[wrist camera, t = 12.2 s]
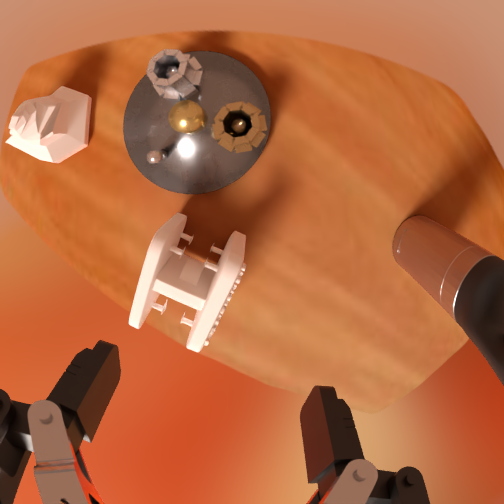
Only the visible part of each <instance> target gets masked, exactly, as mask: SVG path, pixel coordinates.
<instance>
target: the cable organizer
mask: <svg viewBox="0 0 504 504" xmlns="http://www.w3.org/2000/svg"><path fill="white" fill-rule="evenodd" d="M186 221H187V216H186V215H183V214H181V213H179V212H177V213H176V214H175V215H174V216H173V217H171V218H170V219H169V220H168V221H167V222H166V223H165V224H164V225H162V226H161V227H160V228H159V229H158V230H157V232H156V233H155V235H154V237H153V239H152V241H151V243H150V246H149V249H148V252H147V255H146V258H145V261H144V265H143V268H142V272H141V275H140V278H139V282H138V286H137V289H136V293H135V297H134V301H133V304H132V308H131V312H130V317H129V325H131V326H133V327H135V328H137V329H139V328H140V327H141V326H142V324H143V322H144V321H145V319H146V317H147V315H148V314H149V312H150V310H151V308H155V309H157V310H159V311H162V312H161V315H162V313H163V312H164V311H165V309H166V306H167V301H166V303H165V304H164V306H162V305H159V304H157V303H155V302H156V300H157V298H158V296H159V294H163V295H165V296H167V297H169V298H172V299H174V300H176V301H178V302H181V303H183V304H185V305H188V306H190V307H192V308H195V309H197V312H196V315H195V319H194V321H191V320H189V319H187V318H184V315H183V317H182V319H181V322H182V323H185V324H187V325H189V326H192V328H191V331H190V334H189V337H188V341H187V348H188V349H190V350H193V351H196V352H200V350H201V349H202V348H203V346H204V345H206V346H207V345H208V343H209V338H211V336H212V334H213V332H214V331H215V330H216V326H217V325H218V324H219V321H220V318H221V317H222V315H221V314H223V312H224V311H225V309H226V306H227V305H228V301H230V298H231V297H232V293H234V290H235V289H236V287H237V285H236V283H238V284H239V282H240V280H241V276H242V275H243V271H245V269H246V264H245V263H243V261H244V253H245V242H246V235H244V234H242V233H240V232H237V231H234V232H233V233H232V234H231V236H230V238H229V240H228V241H227V244H226V246H225V248H224V250H221V249H219V248H217V247H214V246H213V245H214V244H213V245H212V247H211V249H210V252H211V251H213V252H215V253H217V254H220V255H221V257H220V259H219V261H218V263H217V265H215V264H213V263H210V262H208V261H207V260H206V261H205V263H203V262H201V261H199V260H196V259H194V258H192V257H190V256H187V255H185V254H184V250H185V248H184V250H182V249H180V248H178V247H177V246H178V243H179V241H180V238H183V239H185V240H188V241H190V243H191V242H192V240H193V237H191V236H189V235H187V234H185V233H183V230H184V227H185V224H186ZM193 236H194V235H193ZM190 243H189V245H190ZM185 247H186V246H185ZM207 259H208V258H207ZM238 275H240V276H238ZM167 299H168V298H167ZM184 314H185V313H184Z"/></svg>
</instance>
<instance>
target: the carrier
mask: <svg viewBox="0 0 504 504" xmlns="http://www.w3.org/2000/svg"><path fill="white" fill-rule="evenodd" d="M182 54H190V55H191V56H192V57H195V58H196V60H197V61H198V62H199V64H200V65H201V66H202V68H203V69H204V71H203V72H204V74H205V75H204V79H203V83H202V87H201V88H199V87H196V89H197V90H198V92H197V93H195V94H194V95H192V96H191V97H189V98H188V99H186V100H185V99H183V98H182V100H181V101H175V100H167V99H165V98H163V97H161V96H160V95H159V94H158V92H157V91H156V89H155V88H154V86H153V83H152V81H151V80H150V78H149V77H148V76H147V74H146V75H145V76H144V77H143V78H142V79H141V80H140V82H139V83H138V84H137V86H136V87H135V89H134V91H133V92H132V94H131V96H130V99H129V101H128V103H127V107H126V110H125V115H124V123H123V132H124V140H125V144H126V148H127V151H128V153H129V156H130V158H131V159H132V161H133V163H134V165H135V166H136V167H137V168H138V170H139V171H140V172H141V173H142V174H143V175H144V176H145V177H146V178H147V179H149V180H150V181H151V182H153V183H154V184H156V185H158V186H159V187H161V188H164V189H166V190H169V191H173V192H177V193H183V194H201V193H207V192H211V191H215V190H218V189H220V188H223V187H225V186H227V185H229V184H231V183H233V182H234V181H236V180H237V179H239V178H240V177H241V176H243V175H244V174H245V173H246V172H247V171H248V170H249V169H250V168H251V167H252V166H253V164H254V163H255V162H256V161H257V159H258V158H259V156H260V154H261V153H262V151H263V149H264V146H265V144H266V142H267V138H268V135H269V130H270V124H271V112H270V104H269V100H268V97H267V94H266V92H265V89H264V87H263V85H262V84H261V82H260V80H259V79H258V78H257V76H256V75H255V74H254V73H253V72H252V71H251V70H250V69H249V68H248V67H247V66H246V65H244V64H243V63H241V62H240V61H238V60H236V59H234V58H232V57H230V56H227V55H224V54H221V53H217V52H211V51H193V52H187V53H182ZM178 69H179V68H178ZM178 69H177V68H176V67H174V66H172V67H169V68H168V69H167V70H166V73H165V74H166V76H167V77H168V78H170V77H172V76H173V75H175V74H176V73H177V72H178ZM240 101H243V102H244V103H245V104H247V103H248V102H249V103H251V104H252V105H254V106H255V107H257V108H258V109H260V110H261V111H262V112H261V114H260V115H265V121H266V126H267V131H264V132H263V133H264V134H265V135H266V136H265V137H264V138H263V140H262V141H261V142H260V144H259V145H258V146H257V148H256V147H254V146H253V145H251V146H252V151H246V152H240V153H236V151H235V149H234V150H233V152H230V151H229V150H227V149H226V148H224V147H222V146H221V145H219V144H218V142H219V141H220V139H219V140H215V136H214V131H213V126H212V124H215V120H213V119H214V118H215V116H216V115H217V114H218V112H219V111H220V110H221V108H222V107H224V106H225V107H226V105H227V104H229V103H235V102H240ZM260 115H259V116H260ZM251 128H252V123H251V121H250V120H249V119H247V118H246V117H244V116H240V117H234V118H233V119H232V120H231V122H230V123H229V124H228V130H229V135H231V136H232V137H234V138H236V137H241V136H246V134H247V133H248V132H249V130H250V129H251Z"/></svg>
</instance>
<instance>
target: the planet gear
mask: <svg viewBox="0 0 504 504" xmlns="http://www.w3.org/2000/svg"><path fill="white" fill-rule="evenodd" d="M151 59H152V60H150V61H149V65H148V68H147V72H146V73H147V76H148V77H149V78H150V80H151V81H152V83H153V86H154V88H155V89H156V91H157V92H158V94H159V95H160V96H161V97H163V98H165V99H167V100H175V101H181V100H182V98H183V99H185V100H186V99H188V98H189V97H191V96H192V95H194V94H195V93H197V92H198V90H197V89H196V87H199V88H201V87H202V83H203V79H204V75H205V74H204V72H203V71H204V69H203V68H202V66H201V65H200V64H199V62H198V61H197V60H196V58H195V57H192V56H191V55H190V54H182V52H181V51H179V50H174V49H165V50H162V51H160V52H159V53H158V54H156V55H155V56H153V57H152V58H151ZM172 66H174V67H176V68H177V69H178V68H179V69H178V72H177V73H176V74H175V75H173V76H172V77H170V78H168V77H167V76H166V74H165V73H166V70H167V69H168V68H169V67H172Z"/></svg>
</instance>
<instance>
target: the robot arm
mask: <svg viewBox="0 0 504 504" xmlns="http://www.w3.org/2000/svg"><path fill="white" fill-rule="evenodd" d="M393 254H394V257H395V260H396V261H397V263H398V264H399V265H400V266H401V267H402V268H404V269H405V270H406V271H407V272H408V273H409V274H410V275H411V276H412V277H413V278H414V279H415V280H416V281H417V282H418V283H419V284H420V285H421V286H422V287H423V288H424V289H425V290H426V291H427V292H428V293H429V294H430V295H431V296H432V297H433V298H434V299H435V300H436V301H437V302H438V303H439V304H440V305H441V306H442V307H443V308H444V309H445V310H446V311H447V312H448V313H449V314H450V315H451V316H452V318H453V319H454V320H455V321H456V322H457V323H458V324H459V325H460V326H461V327H462V328H463V330H464V331H465V333H466V334H467V335H468V337H469V338H470V339H471V340H472V342H474V344H475V345H476V346H477V347H478V349H479V350H480V352H481V353H482V354H483V356H484V357H485V358H486V360H487V361H488V363H489V364H490V366H491V367H492V369H493V370H494V372H495V373H496V375H497V376H498V378H499V380H500V381H501V382H502V384H503V385H504V260H502V259H500V258H499V257H497V256H496V255H494V254H492V253H491V252H489V251H487V250H486V249H484V248H482V247H480V246H479V245H477V244H475V243H474V242H472V241H470V240H469V239H467V238H465V237H463V236H461V235H460V234H458V233H456V232H454V231H452V230H451V229H449V228H447V227H445V226H443V225H441V224H439V223H437V222H436V221H434V220H432V219H430V218H428V217H425V216H422V215H417V216H413V217H410V218H408V219H407V220H406V221H404V222H403V223H402V224H401V225H400V227H399V228H398V230H397V232H396V234H395V237H394V241H393ZM120 374H121V369H120V360H119V351H118V347H117V345H114V344H111V343H108V342H105V341H102V340H100V341H98V342H97V344H96V345H95V347H94V348H93V350H91V349H88V348H86V349H84V350H83V351H81V352H79V353H78V354H77V355H76V356H75V357H74V359H73V360H72V362H71V364H70V365H69V366H68V367H67V369H66V372H64V373H63V375H62V376H61V378H60V379H59V381H58V382H57V384H56V385H55V387H54V389H53V390H52V392H51V393H50V395H49V396H48V397H47V399H46V400H40V401H36V402H34V403H33V404H25V403H21V402H17V401H13V400H11V399H10V397H9V395H8V394H7V393H6V392H5V391H3V390H2V389H0V504H13V502H14V498H15V495H16V492H17V489H18V487H19V483H20V481H21V478H22V476H23V473H24V470H25V467H26V465H27V463H28V460H29V458H30V455H31V453H32V451H33V452H34V454H35V458H36V466H34V475H35V479H36V483H37V486H38V489H39V492H40V496H41V499H42V501H43V504H104V502H103V501H102V499H101V497H100V495H99V493H98V491H97V490H96V488H95V486H94V484H93V482H92V479H91V477H90V474H89V471H88V469H87V466H86V463H85V461H84V458H83V455H82V452H81V449H80V445H81V442H82V440H86V441H88V442H90V443H91V442H92V440H93V437H94V435H95V433H96V430H97V428H98V426H99V424H100V421H101V419H102V417H103V415H104V412H105V410H106V408H107V406H108V404H109V402H110V400H111V397H112V396H113V393H114V391H115V389H116V387H117V385H118V383H119V380H120ZM300 422H301V429H302V437H303V444H304V452H305V460H306V468H307V477H308V483H318V489H317V490H316V492H315V493H314V494H313V496H312V497H311V498H310V500H309V501H308V502H307V503H306V504H430V502H429V498H428V494H427V490H426V487H425V483H424V480H423V476H422V474H421V473H420V471H419V470H417V469H416V468H414V467H404V468H402V469H400V470H399V471H398V472H389V471H382V470H377V469H376V467H375V466H374V465H373V464H372V463H371V462H369V461H367V460H365V458H364V456H363V452H362V448H361V445H360V441H359V438H358V434H357V430H356V428H355V424H354V420H353V417H352V413H351V410H350V408H349V406H348V405H347V404H346V402H345V401H344V400H343V399H338V398H337V395H336V391H335V388H334V387H331V386H314V388H313V389H312V391H311V393H310V395H309V396H308V398H307V400H306V402H305V403H304V405H303V407H302V410H301V413H300Z"/></svg>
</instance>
